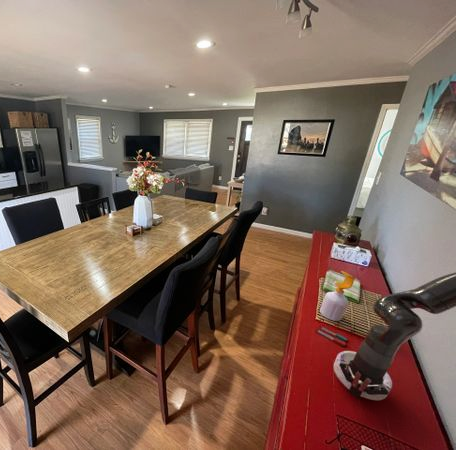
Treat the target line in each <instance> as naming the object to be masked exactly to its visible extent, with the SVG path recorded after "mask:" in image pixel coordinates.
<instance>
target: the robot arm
mask: <svg viewBox="0 0 456 450" xmlns="http://www.w3.org/2000/svg"><path fill="white" fill-rule="evenodd" d="M454 308H456V272H452V273H448V274H445V275H442V276H440V277H437V278H434V279H433V280H431V281H428V282H426V283H424V284H422V285H420V286H418V287H417V288H414V289H409V290H404V291H400V292H396V293H391V294H387V295H383V296H381V297H379V298H378V299H377V300H376V301H375V302H374V304H373V305H372V309H373V312H374V313H375V315H377V316H378V318H379V319H381V321H382V322H383V323H385V324H386V325H383V324H373V325H372V326H370V328H369V330H368V332H367V334H366V335H365V337H364V339H363V340H362V342H361V343H360V345H359V347H358V349H357V351H356V355H355V357H354V359H353V360H351V361H350V362H345V361H344V360H341V362H340V368H341V370H342V372H343V374H344V376H345V378H346V380H347V381H348V382H350V383H351V384H352V385H351V387H350V389H348V391H349V393H350V395H351V396H352V397H354V398H360V397H361V396H360V395H361V393H362V392H366V393H367V394H369V395H387V396H389V394H390V392H389V389H390V388H389V387H388V386H386V385H385V384H384V383H383V381H384V379H383V377H384V375H385V374H386V372H387V373H388V370H389V369H390V368H391V366H392V364H393V362H394V359H395V356H396V354H397V353H398V352H399V349H400V347H401V346H402V345H404V344H405V343H407V341H409V340H410V339H412V338H413V337H415V336H417V335H418V334H419V333H420V332H421V331H422V329H423V326H424V325H423V324H424V323H423V320H422V318H421V317H420V316H419V314H417V312H415V311H413V310H414V309H421V310H423V311H425V312H427V313H430V314H432V315H439V314H443V313H445V312H447V311H449V310H452V309H454ZM349 367H350V369H351V371H352V374H353V375H354V376H355V377H354V378H353V377H352V374H351V372H350V370H349ZM359 380H360V381H362V382H361V383H360V385H358V382H359ZM368 385H378V386H368ZM388 393H389V394H388Z"/></svg>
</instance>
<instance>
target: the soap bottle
mask: <svg viewBox="0 0 456 450" xmlns="http://www.w3.org/2000/svg"><path fill="white" fill-rule="evenodd" d="M340 273H341V274H342V275H345V276H346V277H345V279H344V281H343V282H341V283H335V285H337V286H338V288H336V290H335V292H326V293H325V295H324V297H323V300H322V303H321V306H320V308H319V312H320V314H321V315H322V316H323V317H324V318H326V319H328V320H330V321H333V322H339V321H341V320H342V319H343V316H344V314H345V311H346V310H347V307H348V305H349V299H347V298H346V297H345V296H344V295H343V294H344V290H343V289H348V288H351V287H352V285H353V282H354V280H355V279H356V278H355V277H354V276H352V275H351V274H350V273H348V272H346V271H343V270H340Z"/></svg>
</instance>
